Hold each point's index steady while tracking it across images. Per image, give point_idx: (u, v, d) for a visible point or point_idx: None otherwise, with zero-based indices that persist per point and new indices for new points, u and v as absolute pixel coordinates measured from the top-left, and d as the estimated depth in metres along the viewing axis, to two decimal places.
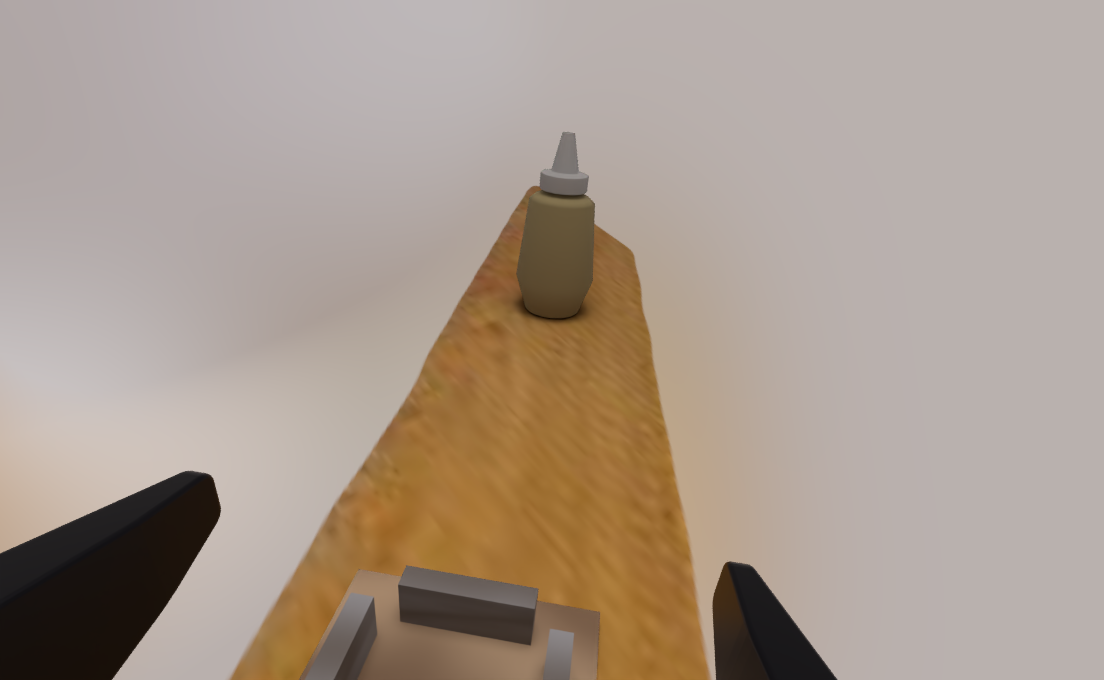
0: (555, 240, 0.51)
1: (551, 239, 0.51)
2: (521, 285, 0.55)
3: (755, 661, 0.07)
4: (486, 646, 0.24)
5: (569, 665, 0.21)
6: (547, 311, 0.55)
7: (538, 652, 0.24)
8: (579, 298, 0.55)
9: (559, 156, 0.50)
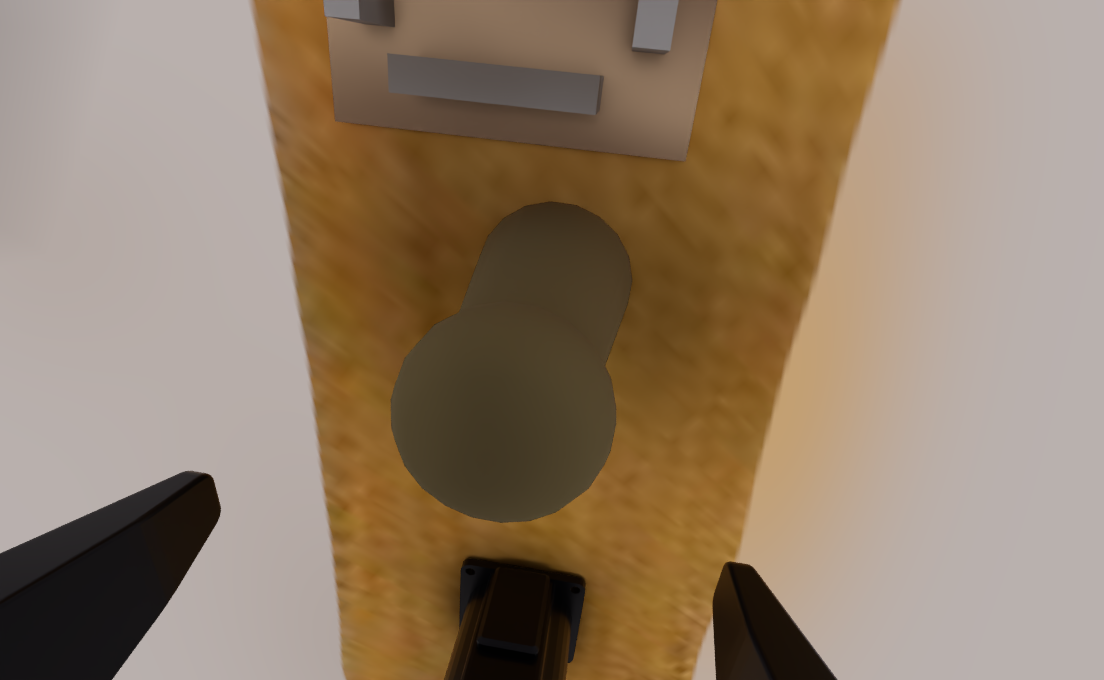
0: None
1: None
2: None
3: (755, 661, 0.07)
4: None
5: None
6: None
7: None
8: None
9: None
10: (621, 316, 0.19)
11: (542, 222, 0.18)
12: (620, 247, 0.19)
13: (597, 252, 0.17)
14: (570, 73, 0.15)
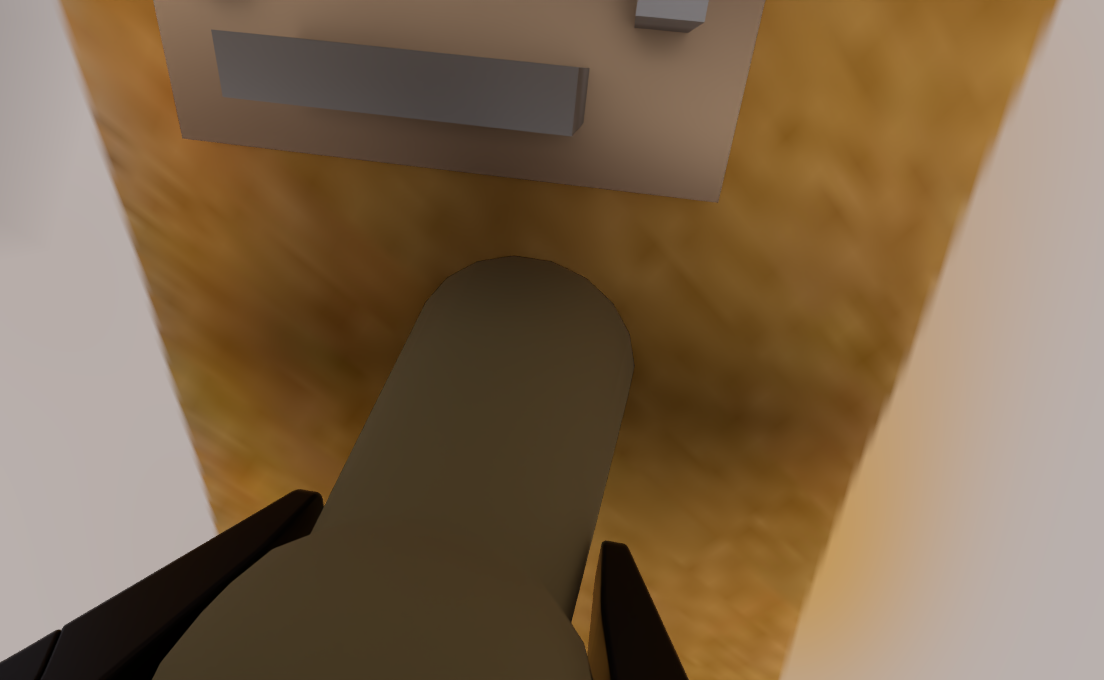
0: None
1: None
2: None
3: (602, 634, 0.07)
4: None
5: None
6: None
7: None
8: None
9: None
10: (618, 432, 0.12)
11: (495, 296, 0.12)
12: (617, 323, 0.13)
13: (580, 347, 0.11)
14: (526, 64, 0.08)
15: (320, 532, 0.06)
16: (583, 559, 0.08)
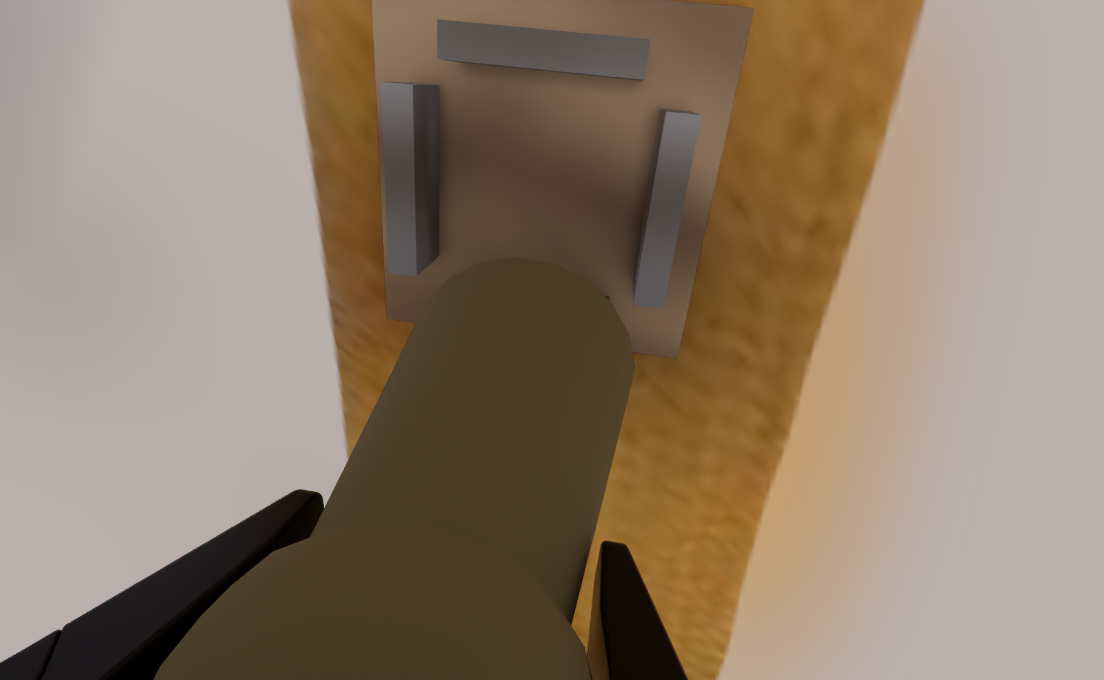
0: None
1: None
2: None
3: (602, 634, 0.07)
4: (582, 88, 0.18)
5: (689, 164, 0.16)
6: None
7: (653, 90, 0.17)
8: None
9: None
10: (618, 434, 0.12)
11: (496, 298, 0.12)
12: (617, 325, 0.13)
13: (580, 349, 0.11)
14: None
15: (320, 535, 0.06)
16: (583, 561, 0.08)
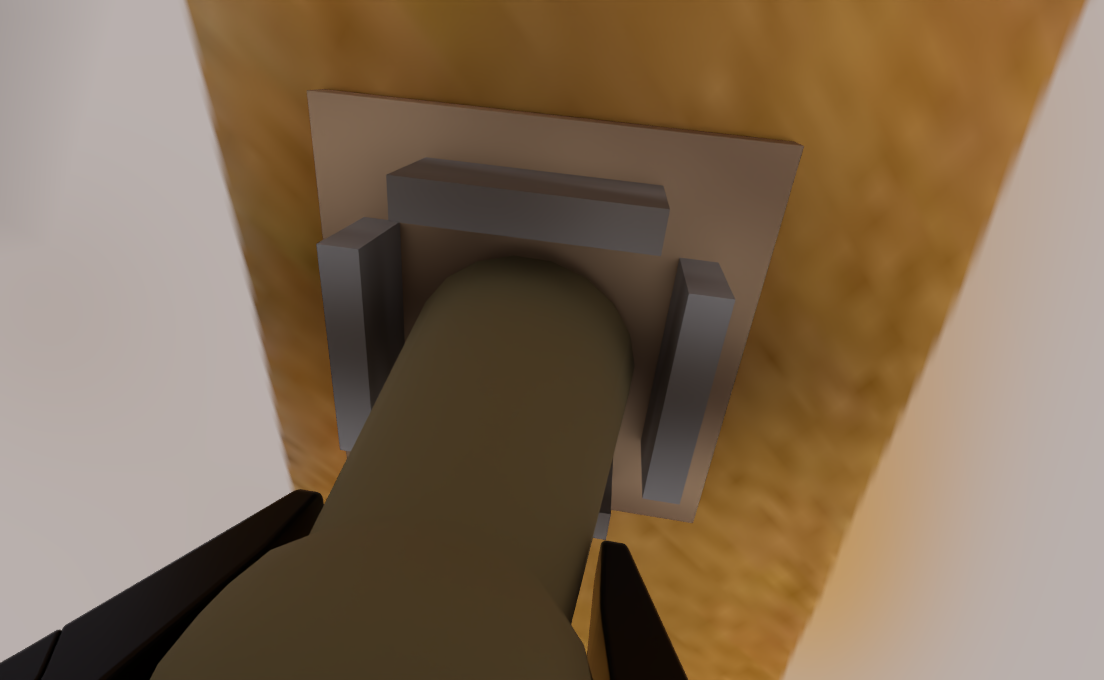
0: None
1: None
2: None
3: (602, 634, 0.07)
4: None
5: (718, 353, 0.12)
6: None
7: (669, 237, 0.14)
8: None
9: None
10: (618, 433, 0.12)
11: (495, 296, 0.12)
12: (617, 323, 0.13)
13: (580, 347, 0.11)
14: None
15: (318, 533, 0.06)
16: (583, 560, 0.08)
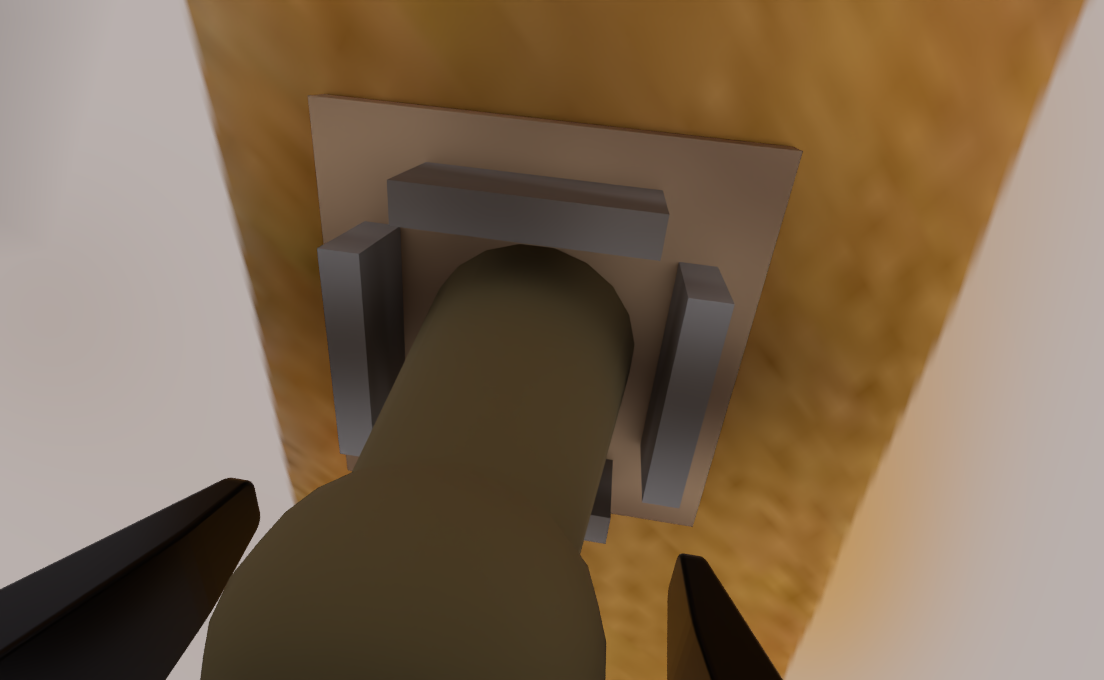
0: None
1: None
2: None
3: (697, 651, 0.07)
4: None
5: (717, 357, 0.12)
6: None
7: (669, 241, 0.14)
8: None
9: None
10: (619, 404, 0.13)
11: (504, 280, 0.13)
12: (616, 304, 0.14)
13: (582, 324, 0.12)
14: None
15: (359, 470, 0.07)
16: (587, 506, 0.09)
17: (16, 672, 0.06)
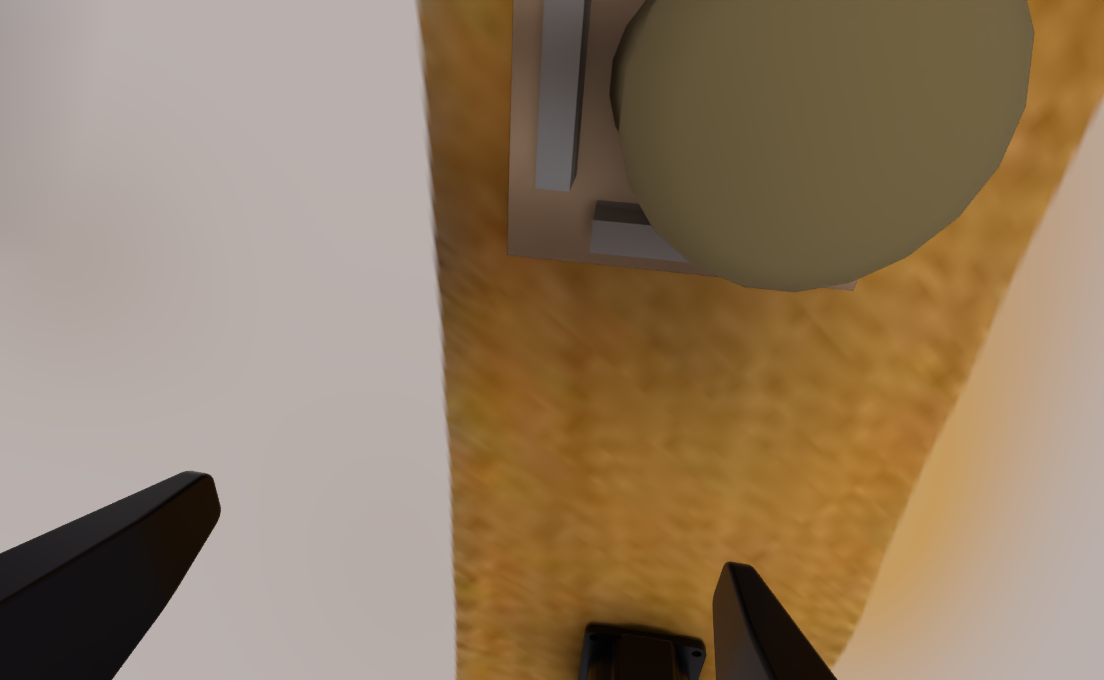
0: None
1: None
2: None
3: (755, 661, 0.07)
4: None
5: None
6: None
7: None
8: None
9: None
10: None
11: None
12: None
13: None
14: None
15: None
16: None
17: None
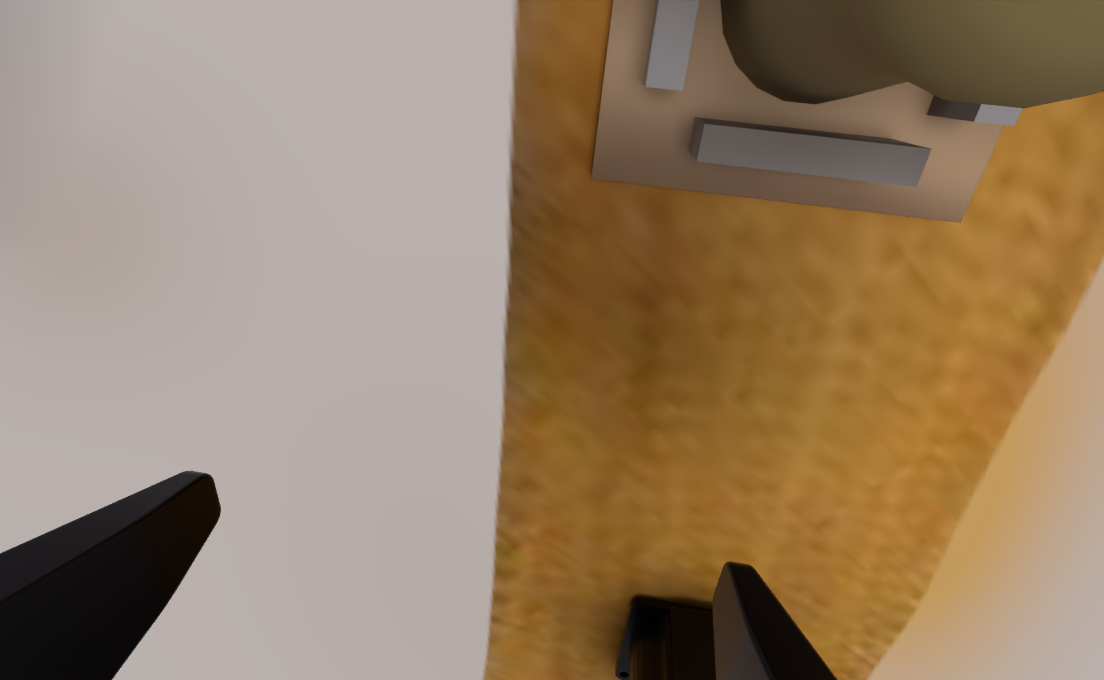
0: None
1: None
2: None
3: (755, 661, 0.07)
4: None
5: None
6: None
7: None
8: None
9: None
10: None
11: None
12: None
13: None
14: (900, 146, 0.14)
15: None
16: None
17: None
